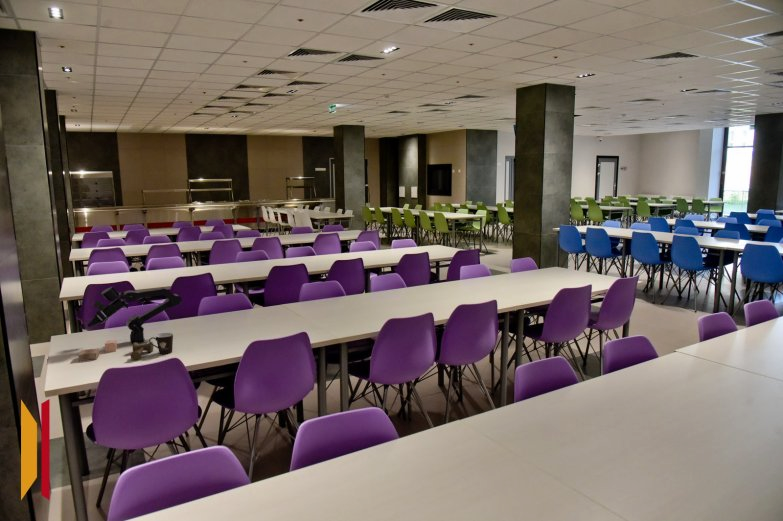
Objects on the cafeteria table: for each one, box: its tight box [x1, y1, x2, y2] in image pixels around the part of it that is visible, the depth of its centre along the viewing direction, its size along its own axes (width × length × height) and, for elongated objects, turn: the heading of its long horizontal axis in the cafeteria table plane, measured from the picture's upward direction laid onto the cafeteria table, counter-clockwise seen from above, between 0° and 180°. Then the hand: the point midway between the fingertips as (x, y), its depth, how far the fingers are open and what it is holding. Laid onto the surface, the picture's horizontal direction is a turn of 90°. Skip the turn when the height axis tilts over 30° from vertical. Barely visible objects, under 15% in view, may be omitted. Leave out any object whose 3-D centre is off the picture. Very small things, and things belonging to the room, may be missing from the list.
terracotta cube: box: [104, 339, 118, 353], centre depth 287 cm, size 5×5×5 cm
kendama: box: [130, 341, 154, 362], centre depth 280 cm, size 6×10×20 cm
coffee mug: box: [148, 332, 174, 356], centre depth 283 cm, size 12×9×10 cm
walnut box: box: [77, 347, 100, 363], centre depth 275 cm, size 8×8×4 cm
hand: (88, 326), depth 286 cm, fingers open, 9 cm apart
